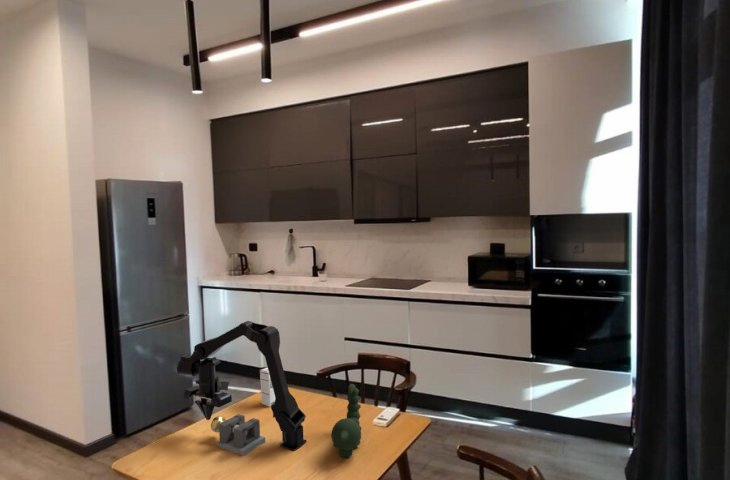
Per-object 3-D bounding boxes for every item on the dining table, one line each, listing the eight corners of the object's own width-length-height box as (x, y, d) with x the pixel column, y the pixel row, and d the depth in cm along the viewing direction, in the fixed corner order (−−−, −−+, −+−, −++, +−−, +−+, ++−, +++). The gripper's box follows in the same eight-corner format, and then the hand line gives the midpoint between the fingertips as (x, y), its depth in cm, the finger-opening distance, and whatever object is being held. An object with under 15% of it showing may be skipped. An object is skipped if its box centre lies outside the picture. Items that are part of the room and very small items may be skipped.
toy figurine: (341, 433, 153) (326, 466, 128) (341, 379, 154) (326, 402, 129) (367, 434, 152) (357, 467, 127) (366, 380, 153) (356, 402, 128)
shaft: (252, 437, 145) (252, 422, 144) (241, 443, 140) (241, 428, 140) (222, 427, 152) (221, 413, 152) (211, 433, 148) (210, 419, 147)
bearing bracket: (265, 441, 145) (264, 420, 145) (243, 455, 137) (242, 432, 136) (240, 433, 151) (239, 413, 151) (217, 446, 143) (216, 424, 142)
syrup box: (270, 407, 173) (269, 372, 172) (260, 404, 176) (259, 369, 176) (281, 402, 177) (279, 368, 177) (271, 399, 181) (270, 365, 181)
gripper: (242, 373, 154) (244, 415, 154) (207, 365, 163) (209, 406, 163) (218, 383, 144) (219, 428, 144) (182, 375, 153) (183, 417, 154)
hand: (208, 419), depth 152 cm, fingers closed
